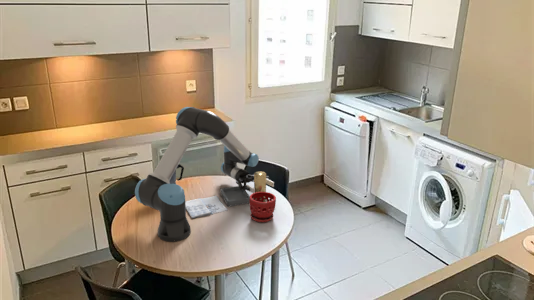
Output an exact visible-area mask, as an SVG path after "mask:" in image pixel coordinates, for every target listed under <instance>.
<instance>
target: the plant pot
mask: <svg viewBox="0 0 534 300" xmlns="http://www.w3.org/2000/svg"><path fill="white" fill-rule="evenodd" d="M249 196H250V200H249V203H248V204H249V210H250V212H251V213H250V218H251V219H252V220H253V221H255V222H257V223H268V222H270V221H271V220H273V218H274V212H275V209H276V203H277V198H276V195H275V194H273V193H271V192H268V191H266V192H256V193H251V194H250V195H249ZM264 196H265V198H264ZM256 198H257V199H256ZM260 198H262V199H261V200H260ZM264 199H266V202H263V200H264ZM258 201H259V202H258Z"/></svg>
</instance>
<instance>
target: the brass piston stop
mask: <svg viewBox="0 0 534 300" xmlns="http://www.w3.org/2000/svg"><path fill="white" fill-rule="evenodd" d="M253 175H254V177H253V180H254V182H253V186H254V187H253V188H255V193H256V192H267V184H266V176H267V173H266V172H265V171H255V172H254V173H253ZM264 198H265V196H264ZM256 199H257V198H256ZM261 199H262V198H260V200H261ZM258 202H259V201H258ZM263 202H267V200H266V199H264V200H263Z"/></svg>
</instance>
